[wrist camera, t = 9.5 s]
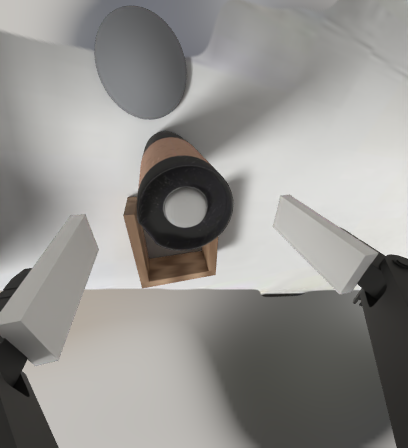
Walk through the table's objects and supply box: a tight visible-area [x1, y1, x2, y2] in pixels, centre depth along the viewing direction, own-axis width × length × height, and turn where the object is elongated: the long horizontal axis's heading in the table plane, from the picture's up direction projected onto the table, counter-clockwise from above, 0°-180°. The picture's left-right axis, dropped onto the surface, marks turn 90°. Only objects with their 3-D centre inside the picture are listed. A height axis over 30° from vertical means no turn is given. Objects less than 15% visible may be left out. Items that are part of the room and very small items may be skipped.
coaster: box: [95, 6, 186, 119], centre depth 24 cm, size 11×11×1 cm
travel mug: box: [137, 131, 233, 251], centre depth 22 cm, size 8×8×20 cm
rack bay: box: [123, 197, 218, 288], centre depth 36 cm, size 15×16×6 cm
